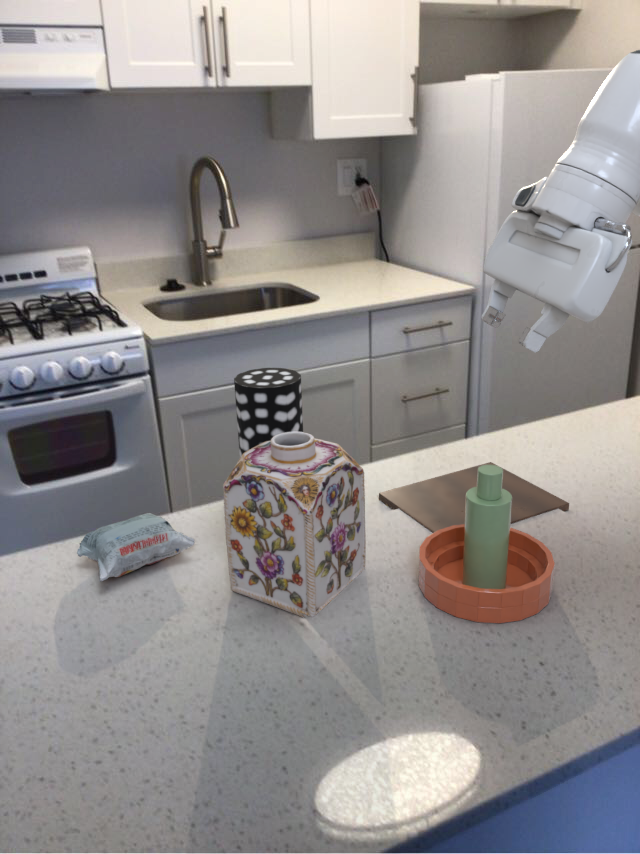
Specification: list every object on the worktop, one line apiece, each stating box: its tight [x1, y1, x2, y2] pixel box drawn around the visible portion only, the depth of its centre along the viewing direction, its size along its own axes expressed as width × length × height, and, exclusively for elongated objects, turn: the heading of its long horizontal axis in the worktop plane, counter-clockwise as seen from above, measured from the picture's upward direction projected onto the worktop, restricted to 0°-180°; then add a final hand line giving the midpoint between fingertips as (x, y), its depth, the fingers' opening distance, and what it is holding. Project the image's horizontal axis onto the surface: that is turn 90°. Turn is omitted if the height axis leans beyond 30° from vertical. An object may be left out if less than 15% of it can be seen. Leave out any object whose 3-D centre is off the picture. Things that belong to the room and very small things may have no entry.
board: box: [378, 461, 570, 534], centre depth 103 cm, size 20×16×1 cm
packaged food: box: [76, 512, 195, 582], centre depth 91 cm, size 9×12×5 cm
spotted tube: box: [233, 367, 304, 458], centre depth 97 cm, size 8×8×20 cm
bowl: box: [418, 524, 556, 624], centre depth 84 cm, size 14×14×4 cm
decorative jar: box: [222, 431, 367, 619], centre depth 84 cm, size 12×12×18 cm
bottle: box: [462, 464, 512, 589], centre depth 82 cm, size 5×5×14 cm
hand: (506, 335), depth 79 cm, fingers open, 8 cm apart
